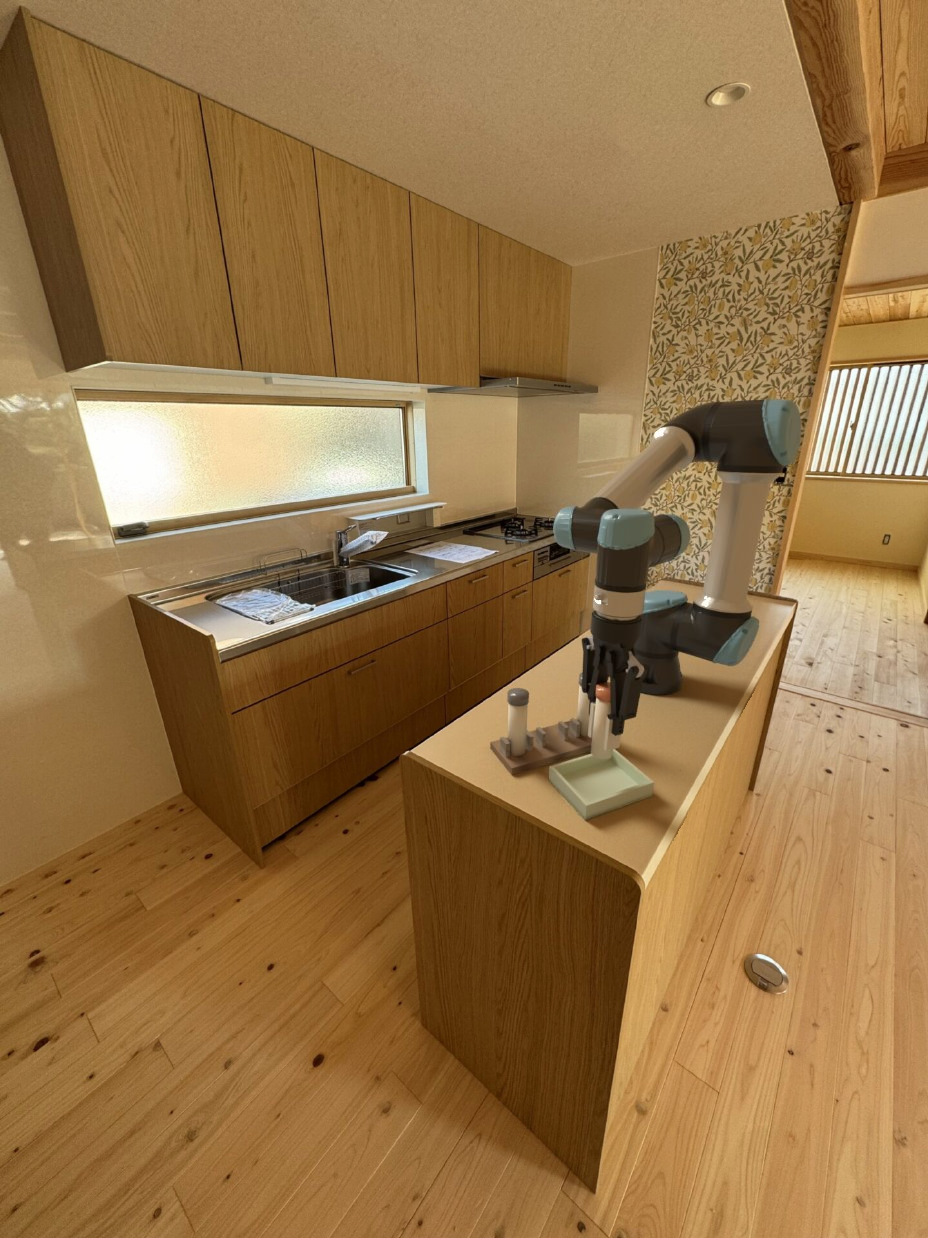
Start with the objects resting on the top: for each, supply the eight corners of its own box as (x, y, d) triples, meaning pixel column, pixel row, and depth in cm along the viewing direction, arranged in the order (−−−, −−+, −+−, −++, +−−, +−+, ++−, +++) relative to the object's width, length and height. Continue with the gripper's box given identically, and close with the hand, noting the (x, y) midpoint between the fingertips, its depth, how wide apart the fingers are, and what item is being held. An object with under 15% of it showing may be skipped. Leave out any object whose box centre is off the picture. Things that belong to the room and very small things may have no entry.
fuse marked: (603, 744, 88) (610, 680, 84) (618, 756, 85) (626, 690, 80) (584, 749, 87) (591, 684, 82) (599, 762, 83) (606, 695, 79)
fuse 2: (587, 723, 105) (591, 670, 100) (598, 733, 102) (604, 678, 97) (571, 728, 104) (575, 674, 99) (582, 738, 100) (587, 682, 96)
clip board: (585, 722, 108) (586, 704, 107) (612, 744, 100) (614, 725, 99) (490, 748, 100) (490, 729, 98) (511, 775, 92) (512, 754, 90)
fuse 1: (520, 742, 99) (522, 686, 95) (530, 753, 96) (533, 695, 91) (502, 747, 98) (503, 690, 93) (512, 758, 94) (513, 700, 90)
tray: (610, 760, 96) (612, 747, 95) (652, 796, 86) (654, 782, 85) (548, 780, 91) (549, 766, 90) (585, 820, 81) (586, 805, 80)
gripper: (565, 599, 82) (557, 722, 91) (635, 634, 68) (617, 776, 76) (602, 594, 85) (591, 713, 93) (676, 626, 71) (655, 763, 79)
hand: (603, 741), depth 85 cm, fingers closed on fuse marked, 3 cm apart
